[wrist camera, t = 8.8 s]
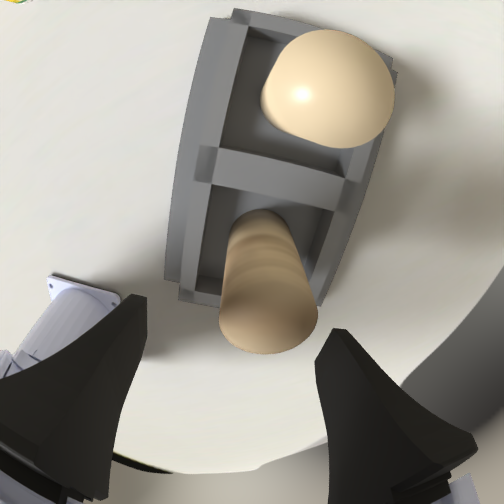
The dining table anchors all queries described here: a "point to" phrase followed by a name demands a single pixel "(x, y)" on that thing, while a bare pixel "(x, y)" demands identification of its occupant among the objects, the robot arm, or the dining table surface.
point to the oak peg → (265, 287)
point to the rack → (275, 144)
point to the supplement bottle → (19, 1)
